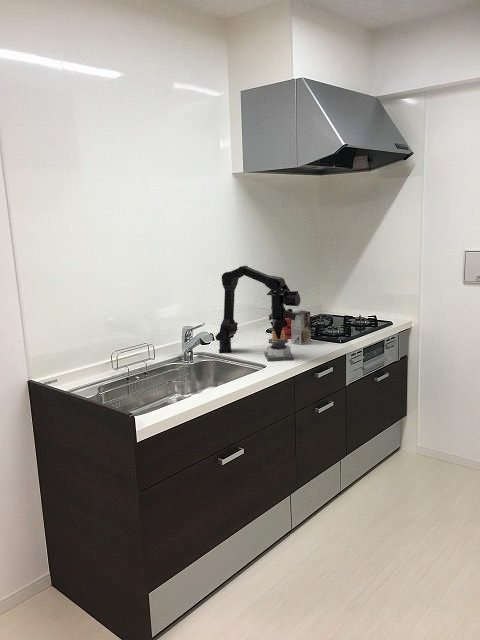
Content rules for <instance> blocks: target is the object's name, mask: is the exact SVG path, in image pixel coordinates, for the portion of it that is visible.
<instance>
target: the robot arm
mask: <svg viewBox="0 0 480 640" xmlns="http://www.w3.org/2000/svg"><path fill="white" fill-rule="evenodd" d="M242 277H247V278H249V279H252V280H254V281H256V282H259V283H262V284H263V285H264V286H265V287H267V288H268V289H270V290H269V291H268V292H267V294H266V295H267V296H270V298H271V306H270V309H271V313H270V314H268V320H269V321H270V322H269V323H270V324H271V327H272V331H275V333H276V336H277V338H278V339H280V336H281V332H282V328H283V327H284V326H288V322H287V321H286V320H285V319H286V318H289V319H292V320H295V318H296V315H297V314H296V313H294V311H293V308H290V306H291V307H299V305H300V303H301V296H300V294H299V291H298V290H290V288H289V286H288V285H287V284H286V280H285V279H284V277H281V276H275V275H269V274H267V273H264V272H262V271H259V270H256V269H254V268H252V267H249V266H248V265H241V266H239V267H238V268H236V269H234V270H231V271H226V272H224V273H223V274H221V283H222V284H221V285H222V286H223V289H224V299H223V300H224V302H223V303H224V305H223V318H222V321H221V324H220V328H219V332H218V333H217V334H216V335H215V336H214V337H215V340H216V341H219V343H218V345H219V349H218V353H219V354H222V353H233V349H232V339H233V338H234V336H235V335H236V333H237V331H238V325H239V324H238V322H237V321H235V319H234V318H235V317H234V316H235V312H234V311H235V296H236V295H235V293H236V292H235V291H236V288H237V286H238V283H239V279H240V278H242ZM285 306H288V308H287V309H286V307H285Z"/></svg>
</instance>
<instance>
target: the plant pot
mask: <svg viewBox="0 0 480 640" xmlns="http://www.w3.org/2000/svg"><path fill="white" fill-rule="evenodd" d="M285 320H286V321H287V322H288V326H284V327H283V328H282V331H284V332H285V338H286V339H288V340H292V332H291V319H289V318H286V319H285Z"/></svg>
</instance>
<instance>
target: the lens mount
mask: <svg viewBox="0 0 480 640" xmlns="http://www.w3.org/2000/svg"><path fill="white" fill-rule="evenodd" d="M263 353H264V357H265V359H266V360H267V362H279V361H294V359H295V357H294V355H293V353H292V352H291V346H290V345H289V344H285V347H280V348H276V347H272V344H270V345H267V346H266V351H264V352H263Z"/></svg>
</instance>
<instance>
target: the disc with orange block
mask: <svg viewBox="0 0 480 640" xmlns="http://www.w3.org/2000/svg"><path fill="white" fill-rule="evenodd" d="M288 342H289V339H288V338H285V332H284V331H282V332H281V336H280V339H278V338H277V336H276V333H275V331H274V330H272V331H271V338H269V339H268V343H269V344H270V345H272V347H276V348H280V347H285V345H286V344H288Z"/></svg>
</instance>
